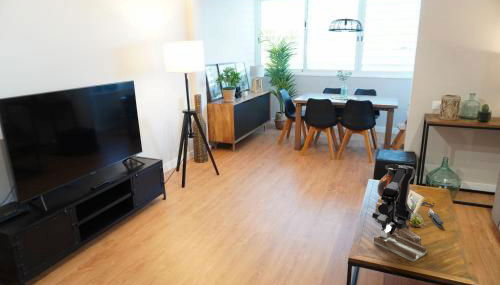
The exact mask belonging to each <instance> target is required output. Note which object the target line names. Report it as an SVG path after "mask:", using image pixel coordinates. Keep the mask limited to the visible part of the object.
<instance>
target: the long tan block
mask: <svg viewBox="0 0 500 285" xmlns="http://www.w3.org/2000/svg"><path fill="white" fill-rule="evenodd" d="M398 234H399V236H400V237H403V238H405V239H407V240H410V241H412V242H414V243H416V244H419V245H421V246H422V237H421V236H419V235H418V234H416V233H415V232H413V231H411V230H410V229H409V228H408V227H407V228H403V229H398Z"/></svg>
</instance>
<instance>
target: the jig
mask: <svg viewBox="0 0 500 285" xmlns="http://www.w3.org/2000/svg"><path fill="white" fill-rule="evenodd" d="M373 243H374V244H375V245H377V246H380V247H381V248H383V249H386V250H387V251H389V252H392V253H394V254H396V255H397V256H400V257H401V258H404V259H406V260H409V261H411V262H413V263H414V262H416V261H417V260H419V259H420V258H422V257H423V256H425V255H426V254H428V251H427V247H425V246H423V245H422V244H421V245H419V244H416V243H414V242H412V241H410V240H407V239H405V238H403V237H400V236H399V233H396V232H395V234H393V235H392V236H390V237H389V238H387V239H386V238H383V237H381V236H380V234H378V235H376V236H375V237H373Z"/></svg>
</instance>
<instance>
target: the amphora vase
mask: <svg viewBox="0 0 500 285" xmlns="http://www.w3.org/2000/svg"><path fill="white" fill-rule="evenodd" d="M399 166H401V167H402V166H403V165H401V164H392V163H391V164H387V165H385V169H386V170H387V173H386V174H385V175H384V176H382V178H381V179H379V182H378V184H377V187H376V188H377V189H376V192H377V194H378V196H379V197H382V194H383V190H384V188H385V187H386V186H387V185H388V184H390V183H391V182H392V180H393V178H394V177H395V175H396V173H397V171H398V167H399ZM400 191H401V185H400V186H399V197H398V200H397V201H396V205H397V204H398V203H399V198H400ZM408 195H409V196H410V192H409V193H408ZM384 197H386V196H384ZM387 198H388V197H387Z"/></svg>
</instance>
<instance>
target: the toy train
mask: <svg viewBox="0 0 500 285" xmlns="http://www.w3.org/2000/svg"><path fill="white" fill-rule="evenodd" d="M382 202H383V200H381V197H380V196H379V197H378V200H377V202H376V204H375V211H374V212H377V211H378V207H379V206H380V205H381V204H382Z"/></svg>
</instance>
